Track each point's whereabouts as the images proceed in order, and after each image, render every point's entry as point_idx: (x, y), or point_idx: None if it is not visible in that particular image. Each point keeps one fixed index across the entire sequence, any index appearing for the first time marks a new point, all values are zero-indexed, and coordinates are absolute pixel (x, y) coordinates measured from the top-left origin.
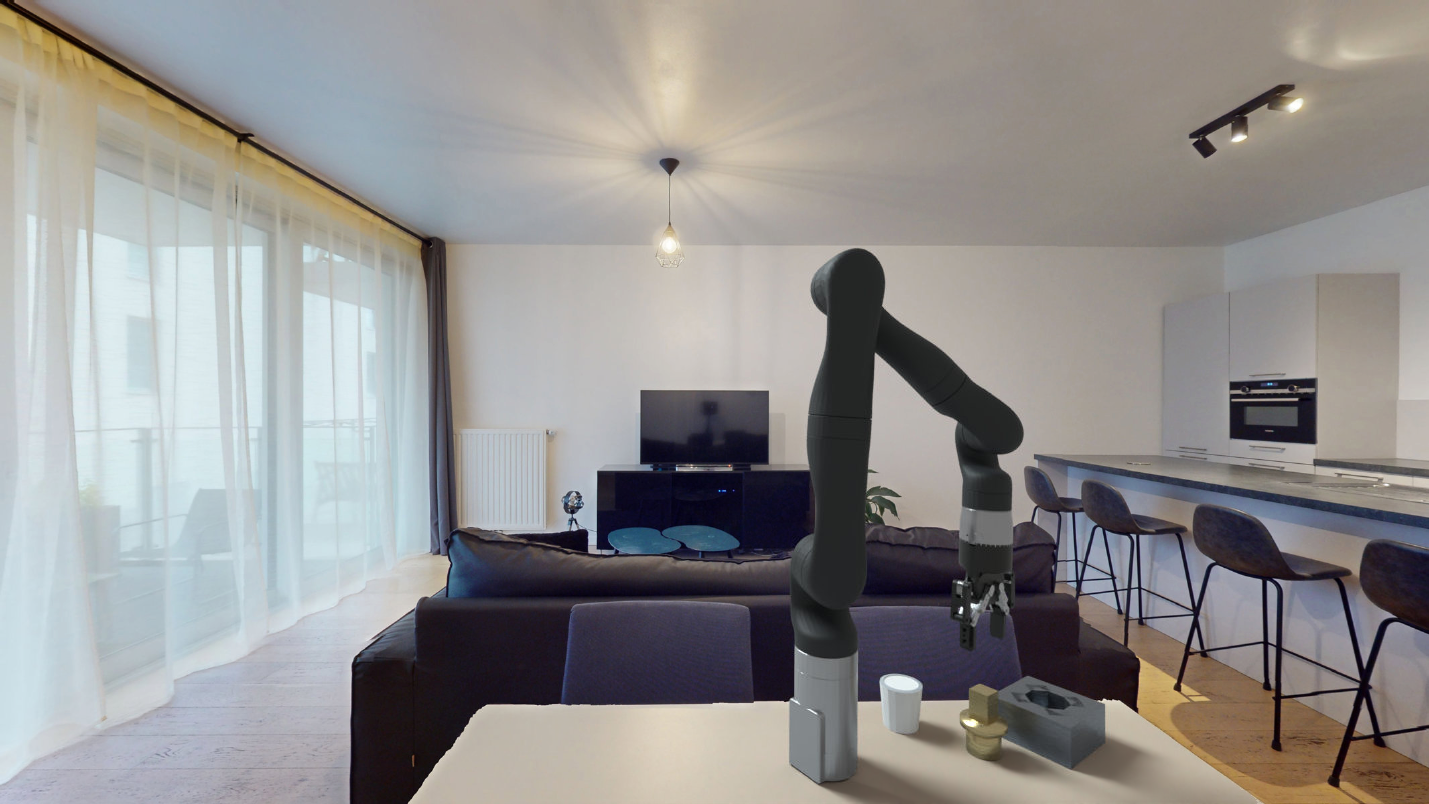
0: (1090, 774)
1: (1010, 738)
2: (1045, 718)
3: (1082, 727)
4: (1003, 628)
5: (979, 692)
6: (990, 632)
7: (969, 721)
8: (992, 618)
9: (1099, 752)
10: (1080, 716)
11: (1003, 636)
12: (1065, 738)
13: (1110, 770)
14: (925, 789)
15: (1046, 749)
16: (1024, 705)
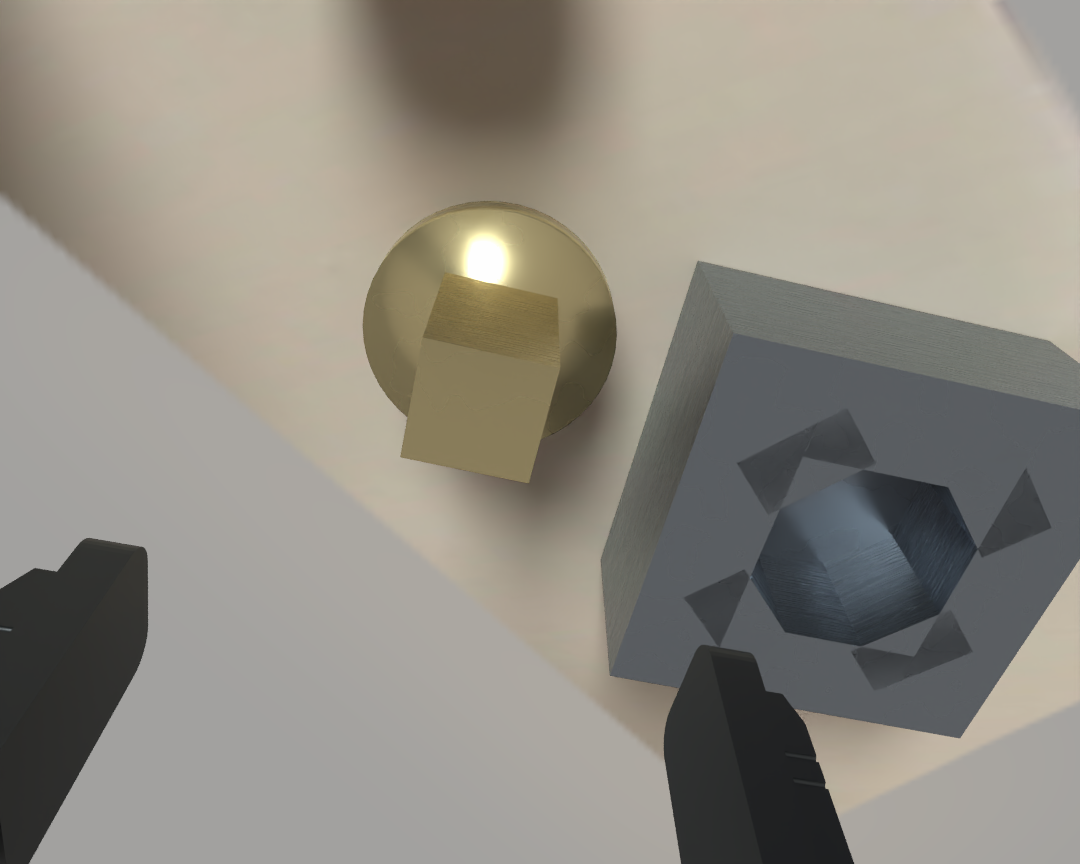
0: None
1: (670, 356)
2: (642, 586)
3: None
4: (678, 835)
5: (415, 406)
6: (705, 662)
7: (409, 286)
8: (731, 821)
9: None
10: None
11: (668, 760)
12: (613, 618)
13: None
14: (5, 177)
15: (627, 505)
16: (712, 497)
